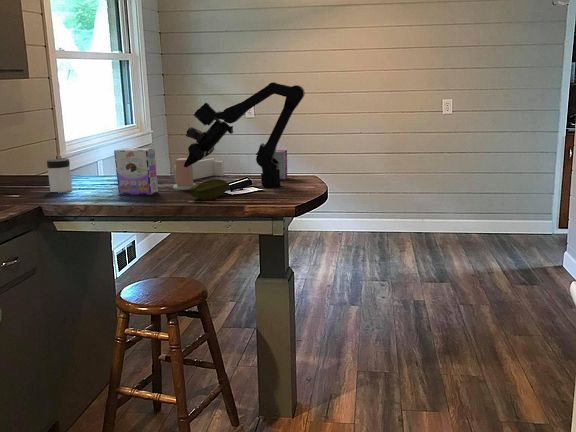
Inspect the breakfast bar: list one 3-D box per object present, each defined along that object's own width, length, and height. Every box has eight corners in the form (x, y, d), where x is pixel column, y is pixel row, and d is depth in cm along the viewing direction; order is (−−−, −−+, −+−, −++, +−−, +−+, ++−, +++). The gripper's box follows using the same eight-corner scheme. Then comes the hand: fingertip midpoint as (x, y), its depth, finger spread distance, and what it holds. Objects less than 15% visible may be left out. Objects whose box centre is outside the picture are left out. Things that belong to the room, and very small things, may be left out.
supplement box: (285, 180, 247) (284, 151, 244) (270, 180, 248) (269, 151, 245) (288, 177, 252) (287, 149, 250) (273, 177, 253) (272, 149, 251)
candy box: (159, 192, 231) (155, 147, 228) (150, 195, 226) (146, 149, 222) (126, 191, 236) (122, 147, 232) (117, 194, 230) (113, 149, 227)
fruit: (197, 195, 223) (196, 177, 222) (230, 195, 221) (229, 176, 220) (188, 202, 212) (187, 182, 210) (223, 201, 210) (222, 182, 209)
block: (193, 183, 240) (191, 157, 238) (190, 186, 236) (188, 159, 233) (180, 184, 241) (178, 158, 239) (177, 186, 236) (175, 160, 234)
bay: (224, 175, 264) (223, 159, 262) (186, 184, 246) (184, 166, 245) (213, 174, 267) (212, 158, 266) (175, 182, 250) (173, 165, 248)
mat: (197, 185, 243) (197, 182, 243) (197, 189, 235) (197, 186, 234) (173, 186, 242) (173, 183, 242) (173, 190, 234) (172, 187, 233)
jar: (73, 191, 239) (69, 160, 236) (50, 193, 236) (46, 162, 234) (72, 188, 247) (68, 157, 245) (50, 190, 245) (46, 159, 242)
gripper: (203, 117, 241) (178, 147, 245) (191, 121, 223) (164, 153, 227) (225, 137, 242) (199, 166, 246) (215, 142, 224) (187, 174, 228)
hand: (187, 164), depth 236 cm, fingers open, 9 cm apart
